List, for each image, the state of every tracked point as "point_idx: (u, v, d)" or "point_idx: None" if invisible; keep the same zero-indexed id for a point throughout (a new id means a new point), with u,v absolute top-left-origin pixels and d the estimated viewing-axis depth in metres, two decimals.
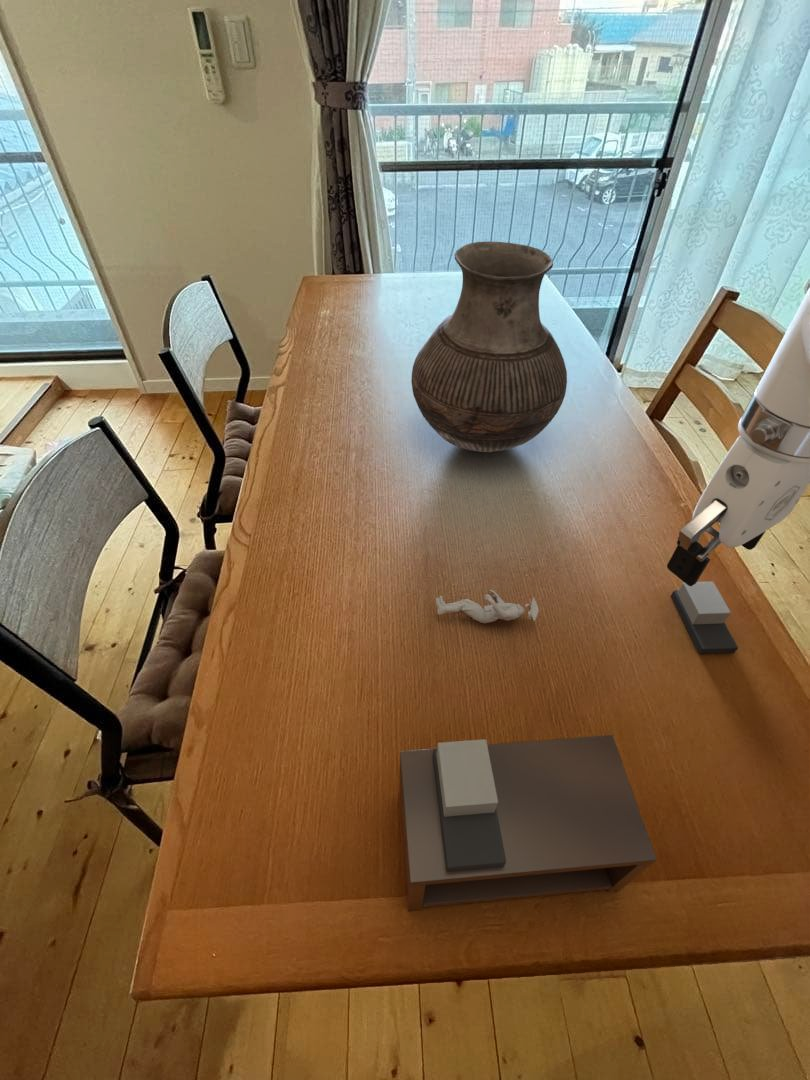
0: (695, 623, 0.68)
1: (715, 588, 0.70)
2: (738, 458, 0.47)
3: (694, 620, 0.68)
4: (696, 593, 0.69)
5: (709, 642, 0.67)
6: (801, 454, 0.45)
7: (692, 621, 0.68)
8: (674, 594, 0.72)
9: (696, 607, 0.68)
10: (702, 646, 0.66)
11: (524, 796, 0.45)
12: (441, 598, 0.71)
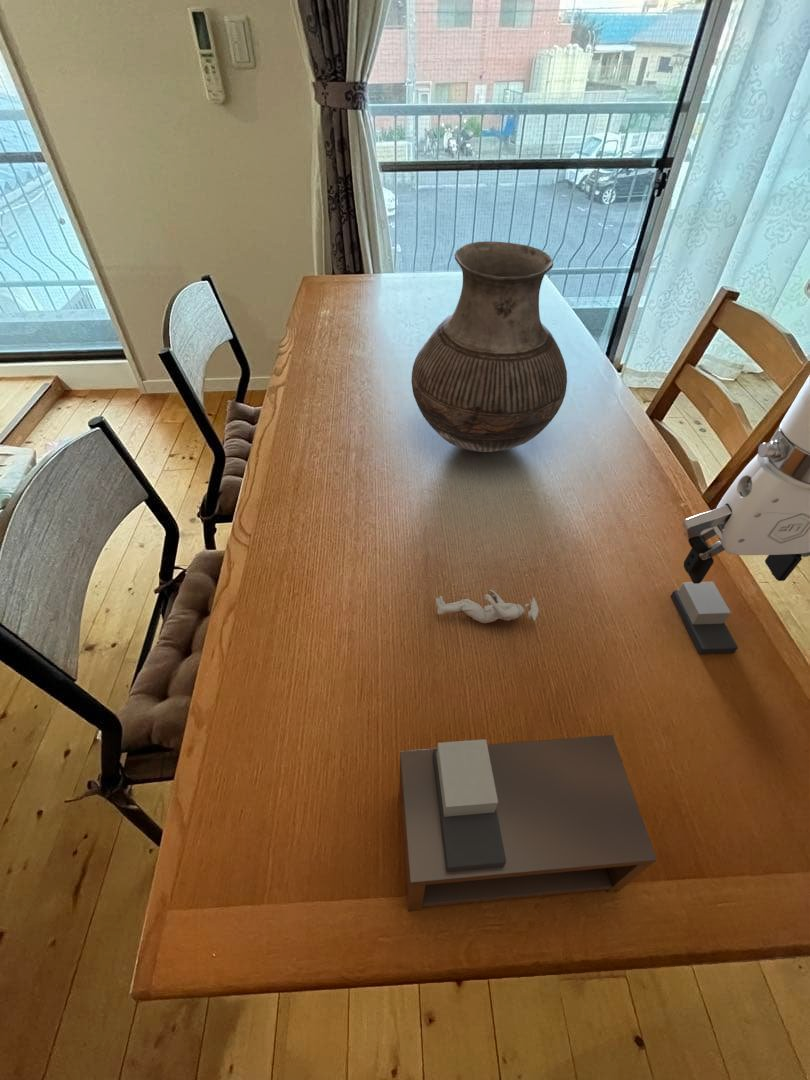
0: (695, 623, 0.68)
1: (715, 588, 0.70)
2: (750, 470, 0.53)
3: (694, 620, 0.68)
4: (696, 593, 0.69)
5: (709, 642, 0.67)
6: (799, 477, 0.49)
7: (692, 621, 0.68)
8: (674, 594, 0.72)
9: (696, 607, 0.68)
10: (702, 646, 0.66)
11: (524, 796, 0.45)
12: (441, 598, 0.71)
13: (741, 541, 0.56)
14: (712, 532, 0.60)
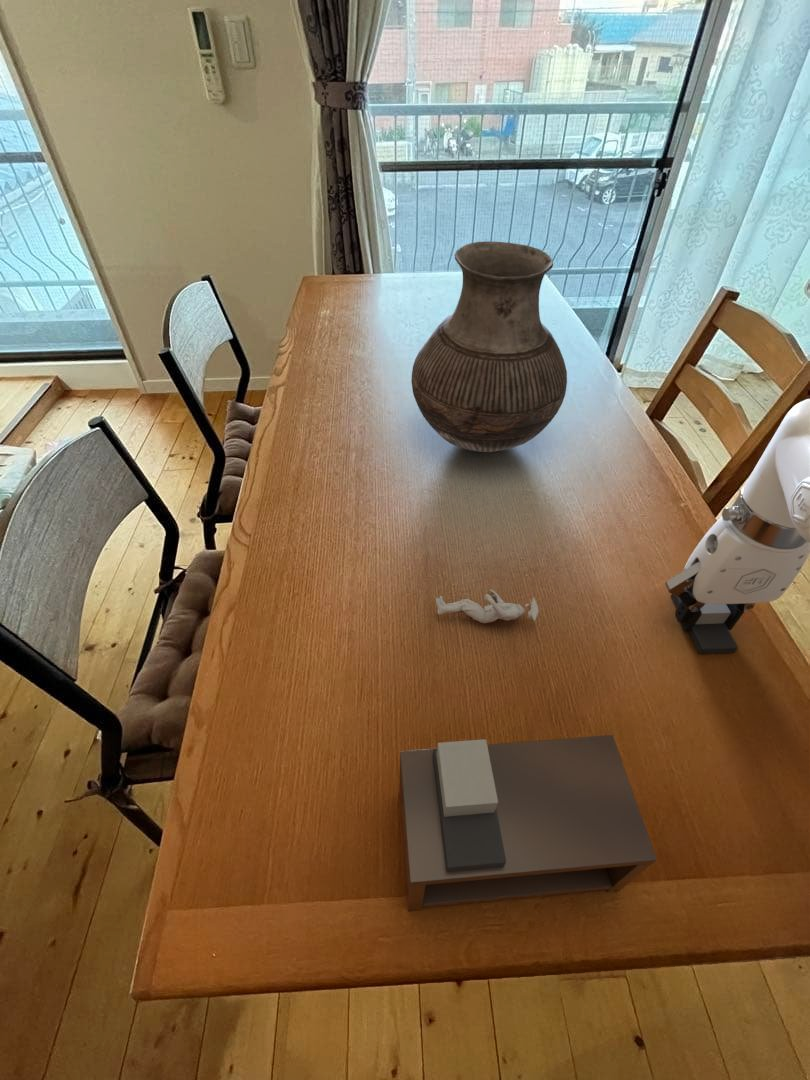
0: None
1: None
2: (716, 529, 0.59)
3: None
4: None
5: (709, 642, 0.67)
6: (758, 540, 0.55)
7: None
8: None
9: None
10: (702, 646, 0.66)
11: (524, 796, 0.45)
12: (441, 598, 0.71)
13: (710, 592, 0.61)
14: None
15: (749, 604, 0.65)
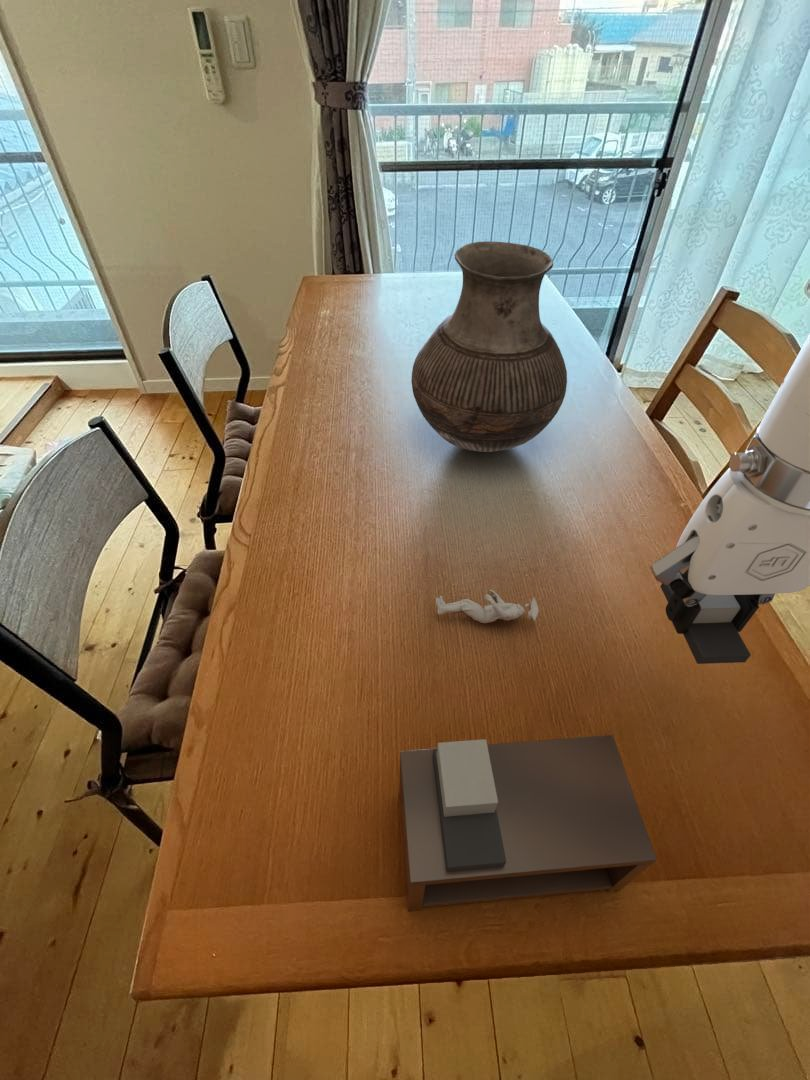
0: None
1: None
2: (720, 487, 0.41)
3: None
4: None
5: (711, 647, 0.49)
6: (783, 498, 0.38)
7: None
8: None
9: None
10: (702, 653, 0.49)
11: (524, 796, 0.45)
12: (441, 598, 0.71)
13: (712, 578, 0.44)
14: None
15: (766, 596, 0.48)
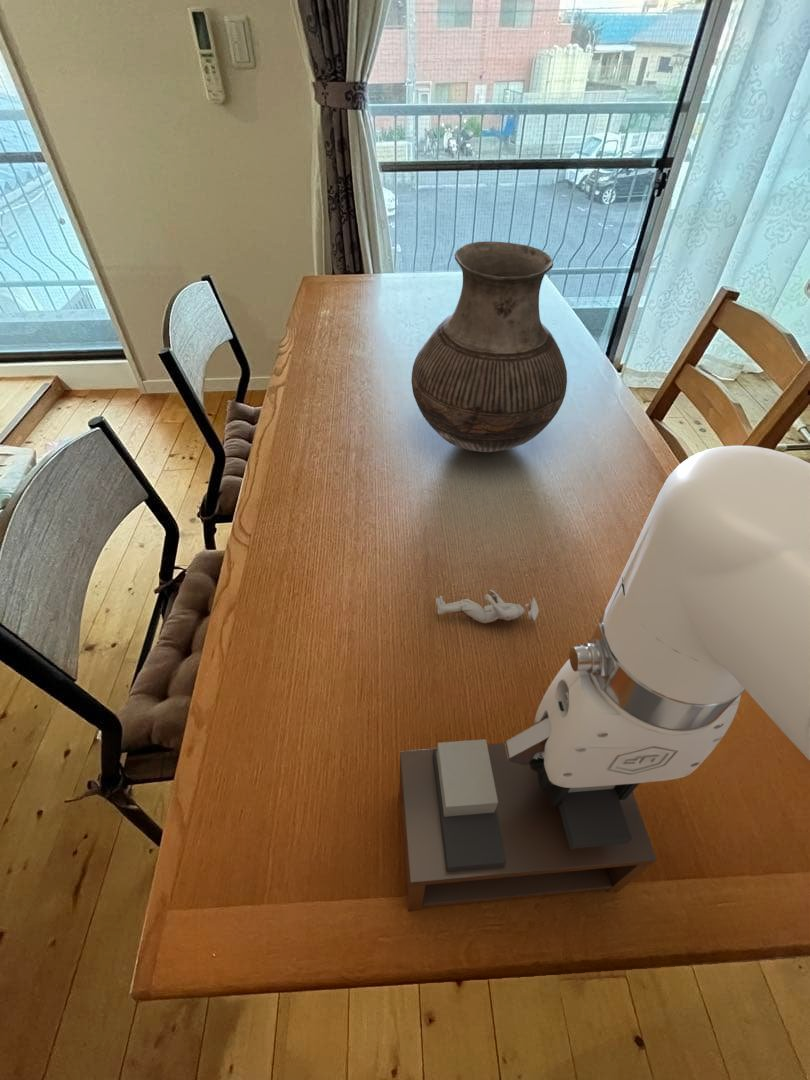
0: None
1: None
2: (568, 674, 0.32)
3: None
4: None
5: (586, 829, 0.40)
6: (632, 712, 0.29)
7: None
8: None
9: None
10: (573, 838, 0.40)
11: (524, 796, 0.45)
12: (441, 598, 0.71)
13: (568, 774, 0.35)
14: None
15: None
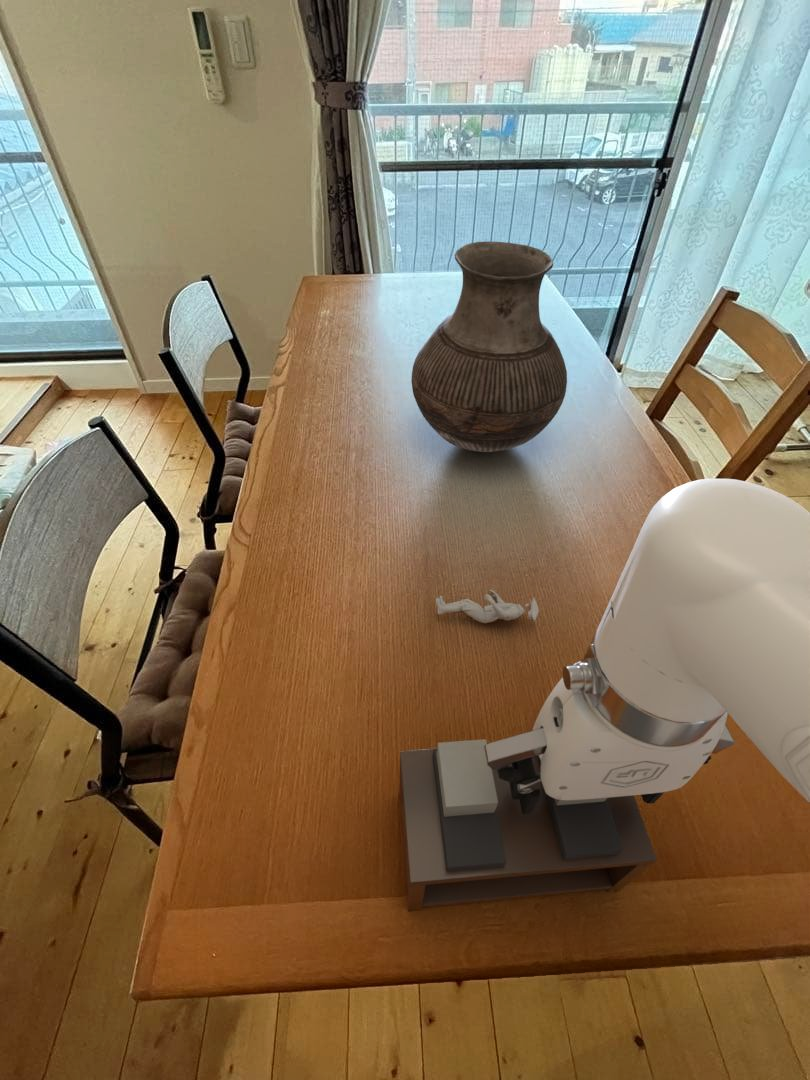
0: (560, 804, 0.44)
1: None
2: (562, 691, 0.34)
3: (557, 801, 0.43)
4: None
5: (578, 840, 0.42)
6: (622, 728, 0.30)
7: (556, 800, 0.44)
8: None
9: None
10: (566, 849, 0.42)
11: None
12: (441, 598, 0.71)
13: (564, 787, 0.36)
14: None
15: None
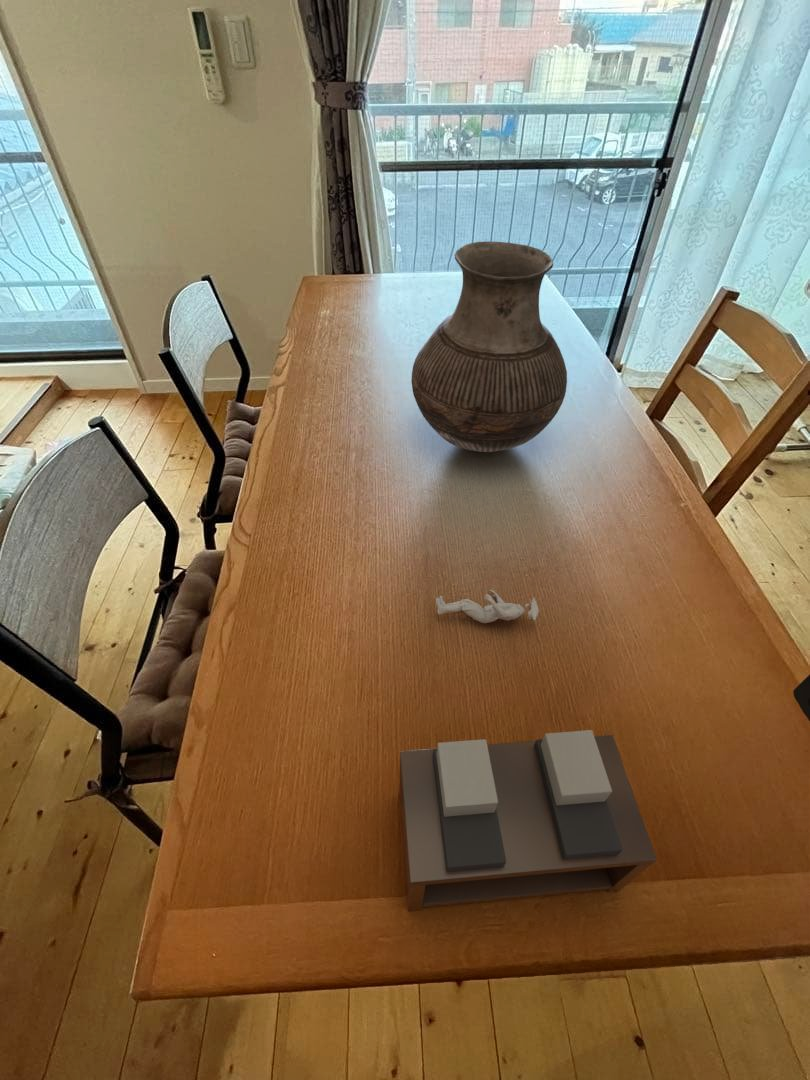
0: (560, 804, 0.44)
1: (593, 743, 0.45)
2: None
3: (557, 801, 0.43)
4: (562, 753, 0.45)
5: (578, 840, 0.42)
6: None
7: (556, 800, 0.44)
8: (537, 745, 0.47)
9: (558, 781, 0.43)
10: (566, 849, 0.42)
11: (524, 796, 0.45)
12: (441, 598, 0.71)
13: None
14: None
15: None
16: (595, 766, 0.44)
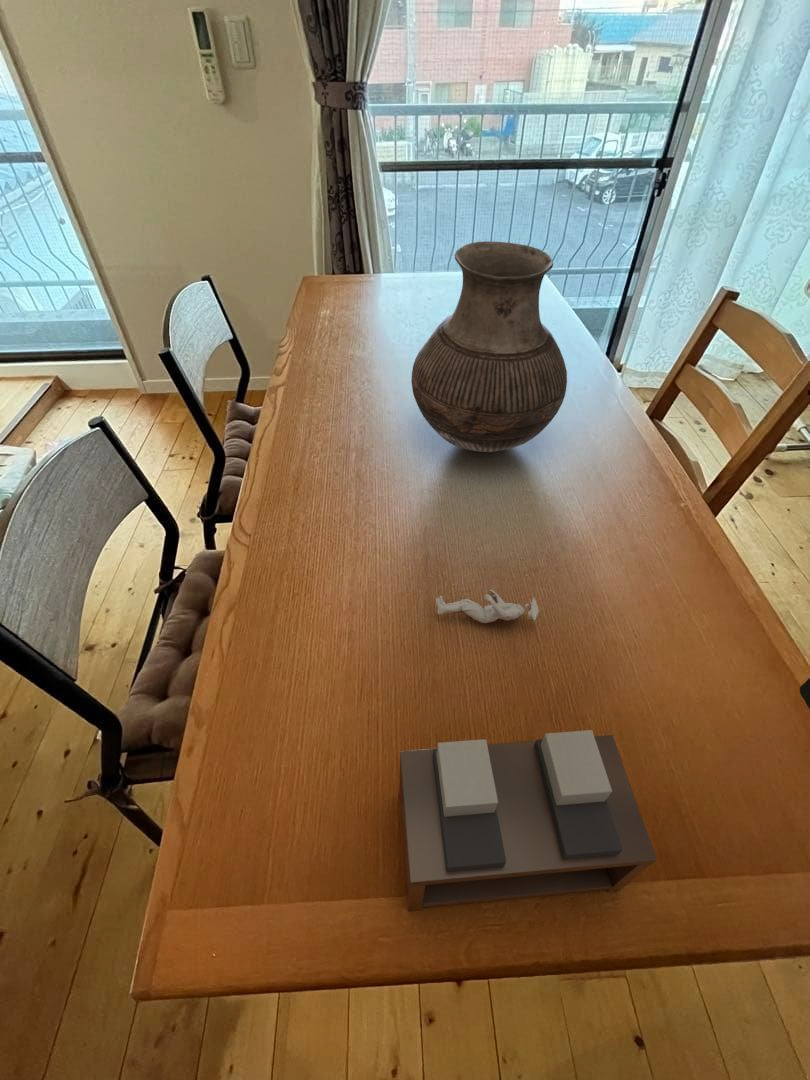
0: (560, 804, 0.44)
1: (593, 743, 0.45)
2: None
3: (557, 801, 0.43)
4: (562, 753, 0.45)
5: (578, 840, 0.42)
6: None
7: (556, 800, 0.44)
8: (537, 745, 0.47)
9: (558, 781, 0.43)
10: (566, 849, 0.42)
11: (524, 796, 0.45)
12: (441, 598, 0.71)
13: None
14: None
15: None
16: (595, 766, 0.44)
